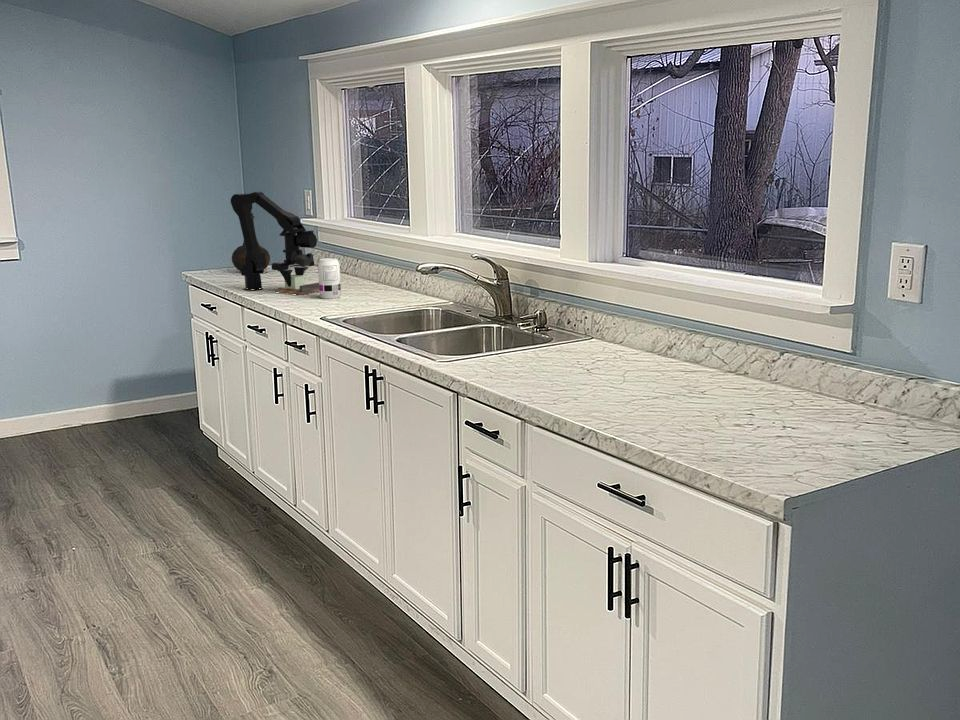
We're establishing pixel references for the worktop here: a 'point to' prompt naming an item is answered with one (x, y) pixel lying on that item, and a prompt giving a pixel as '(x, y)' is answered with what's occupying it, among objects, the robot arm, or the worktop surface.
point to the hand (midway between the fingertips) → (294, 285)
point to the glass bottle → (240, 253)
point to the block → (295, 282)
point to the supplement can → (329, 278)
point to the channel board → (301, 289)
